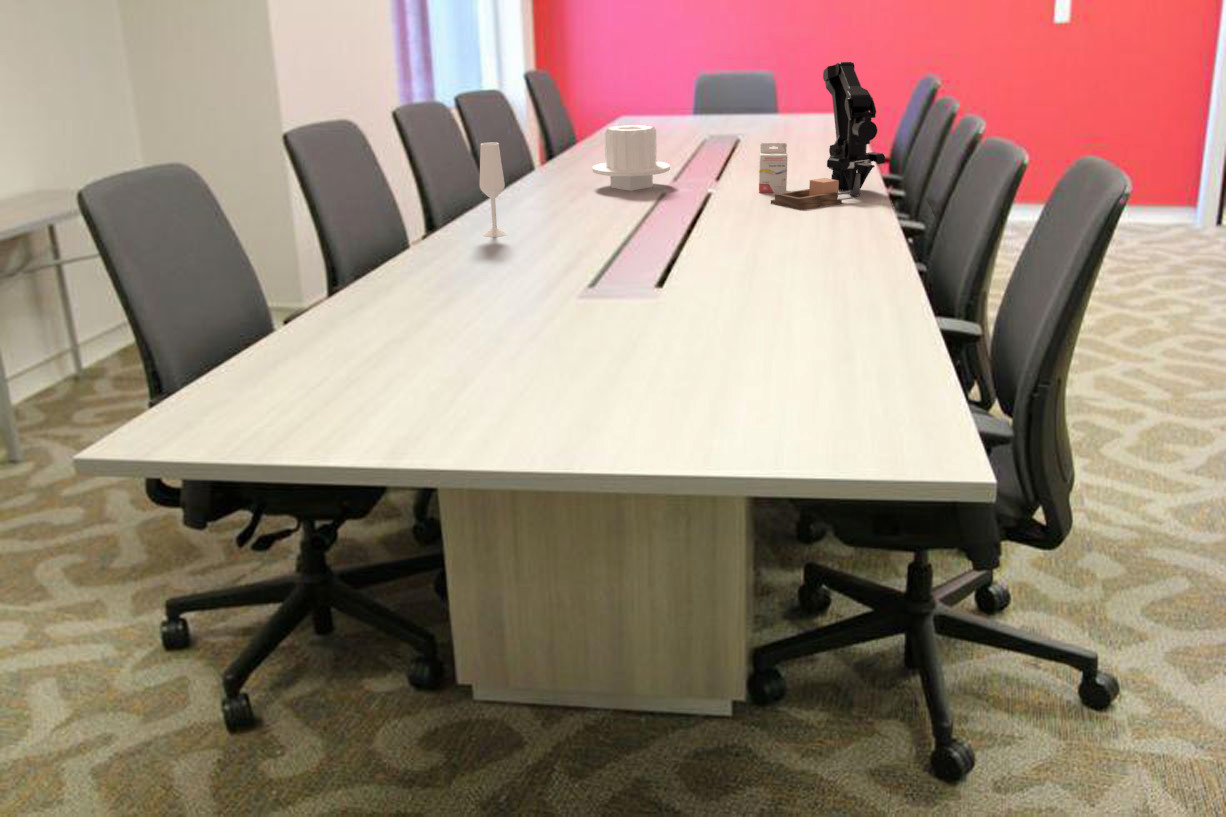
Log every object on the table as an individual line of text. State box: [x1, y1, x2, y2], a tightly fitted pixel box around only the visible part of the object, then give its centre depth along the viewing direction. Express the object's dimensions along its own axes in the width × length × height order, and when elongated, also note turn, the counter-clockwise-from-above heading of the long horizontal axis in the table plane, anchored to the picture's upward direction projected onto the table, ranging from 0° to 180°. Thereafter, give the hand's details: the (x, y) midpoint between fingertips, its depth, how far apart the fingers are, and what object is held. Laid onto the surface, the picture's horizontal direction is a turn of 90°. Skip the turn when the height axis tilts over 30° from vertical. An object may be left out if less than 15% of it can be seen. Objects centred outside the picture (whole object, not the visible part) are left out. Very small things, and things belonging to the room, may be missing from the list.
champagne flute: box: [479, 141, 508, 238], centre depth 312 cm, size 7×7×24 cm
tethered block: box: [808, 173, 861, 197], centre depth 351 cm, size 17×6×6 cm, turn 122°
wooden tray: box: [770, 188, 843, 211], centre depth 345 cm, size 15×14×3 cm
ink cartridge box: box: [758, 142, 788, 194], centre depth 364 cm, size 9×5×15 cm, turn 84°
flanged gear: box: [592, 124, 671, 192], centre depth 377 cm, size 25×25×19 cm
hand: (854, 189), depth 355 cm, fingers closed on tethered block, 3 cm apart
